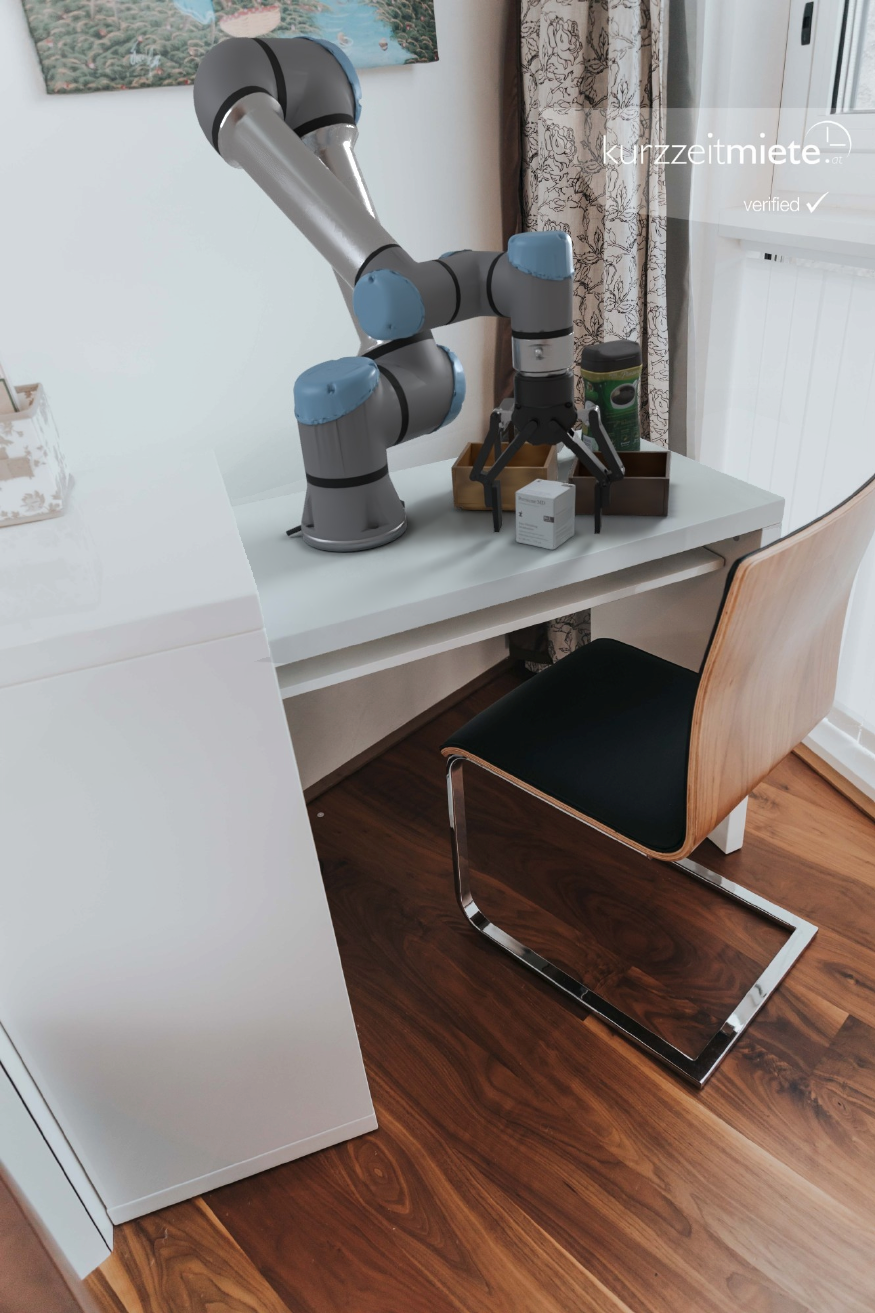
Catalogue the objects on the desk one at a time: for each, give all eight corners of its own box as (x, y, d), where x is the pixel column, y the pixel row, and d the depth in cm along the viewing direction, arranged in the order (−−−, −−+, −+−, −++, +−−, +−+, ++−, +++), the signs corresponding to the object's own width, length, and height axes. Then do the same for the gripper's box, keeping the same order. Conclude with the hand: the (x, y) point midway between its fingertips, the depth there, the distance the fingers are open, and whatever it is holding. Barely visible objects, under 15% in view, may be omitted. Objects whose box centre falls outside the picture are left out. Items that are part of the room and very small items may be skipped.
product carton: (515, 543, 120) (513, 491, 117) (537, 527, 124) (536, 477, 121) (554, 550, 117) (554, 498, 113) (576, 534, 121) (576, 483, 118)
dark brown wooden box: (567, 514, 128) (567, 477, 125) (576, 485, 138) (576, 450, 135) (667, 516, 124) (669, 478, 122) (669, 486, 134) (671, 450, 132)
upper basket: (454, 512, 132) (447, 421, 125) (470, 484, 142) (465, 398, 135) (547, 513, 128) (546, 420, 122) (557, 485, 138) (557, 397, 131)
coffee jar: (619, 444, 153) (623, 333, 144) (647, 456, 147) (652, 340, 137) (572, 455, 150) (572, 342, 140) (597, 468, 144) (599, 350, 134)
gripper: (439, 380, 109) (452, 538, 120) (645, 373, 103) (639, 541, 114) (452, 365, 115) (463, 518, 126) (647, 359, 109) (642, 519, 120)
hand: (547, 529), depth 120 cm, fingers open, 13 cm apart
